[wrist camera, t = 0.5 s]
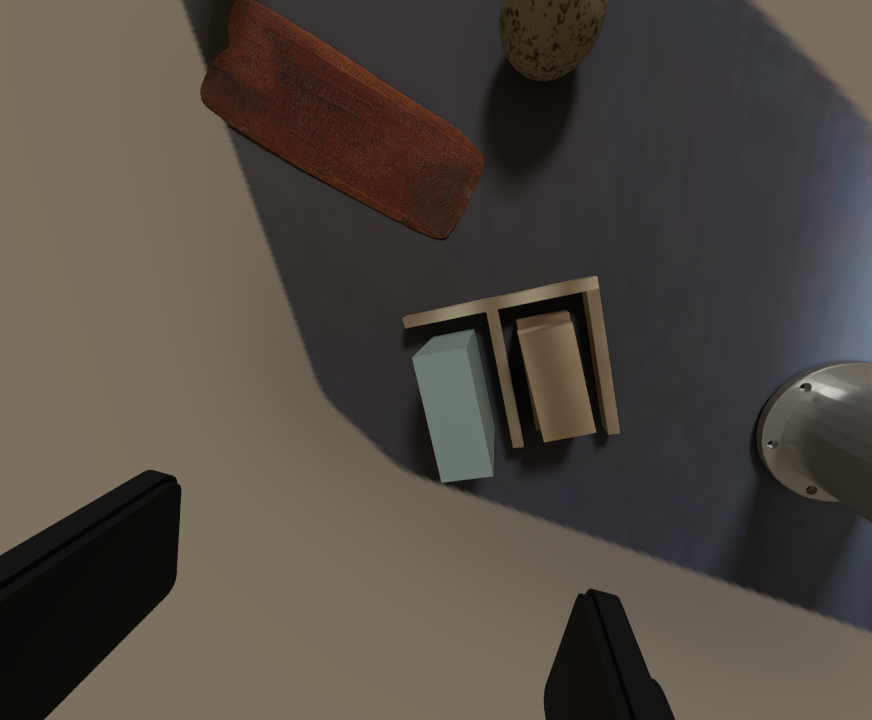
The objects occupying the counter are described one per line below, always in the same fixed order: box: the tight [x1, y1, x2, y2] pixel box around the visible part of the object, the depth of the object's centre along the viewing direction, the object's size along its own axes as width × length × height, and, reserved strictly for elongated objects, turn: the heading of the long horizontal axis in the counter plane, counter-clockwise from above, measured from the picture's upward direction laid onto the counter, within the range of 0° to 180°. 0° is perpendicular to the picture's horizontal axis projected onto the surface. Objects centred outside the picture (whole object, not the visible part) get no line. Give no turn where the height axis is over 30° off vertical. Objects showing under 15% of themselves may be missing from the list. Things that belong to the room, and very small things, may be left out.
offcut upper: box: [517, 319, 596, 442], centre depth 34 cm, size 4×9×3 cm, turn 15°
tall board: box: [412, 328, 494, 483], centre depth 35 cm, size 4×10×10 cm, turn 12°
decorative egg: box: [500, 0, 607, 81], centre depth 28 cm, size 7×7×10 cm
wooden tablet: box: [201, 0, 485, 238], centre depth 36 cm, size 27×10×2 cm, turn 59°
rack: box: [403, 276, 620, 448], centre depth 37 cm, size 17×14×2 cm
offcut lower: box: [516, 310, 571, 430], centre depth 37 cm, size 4×10×3 cm, turn 12°
